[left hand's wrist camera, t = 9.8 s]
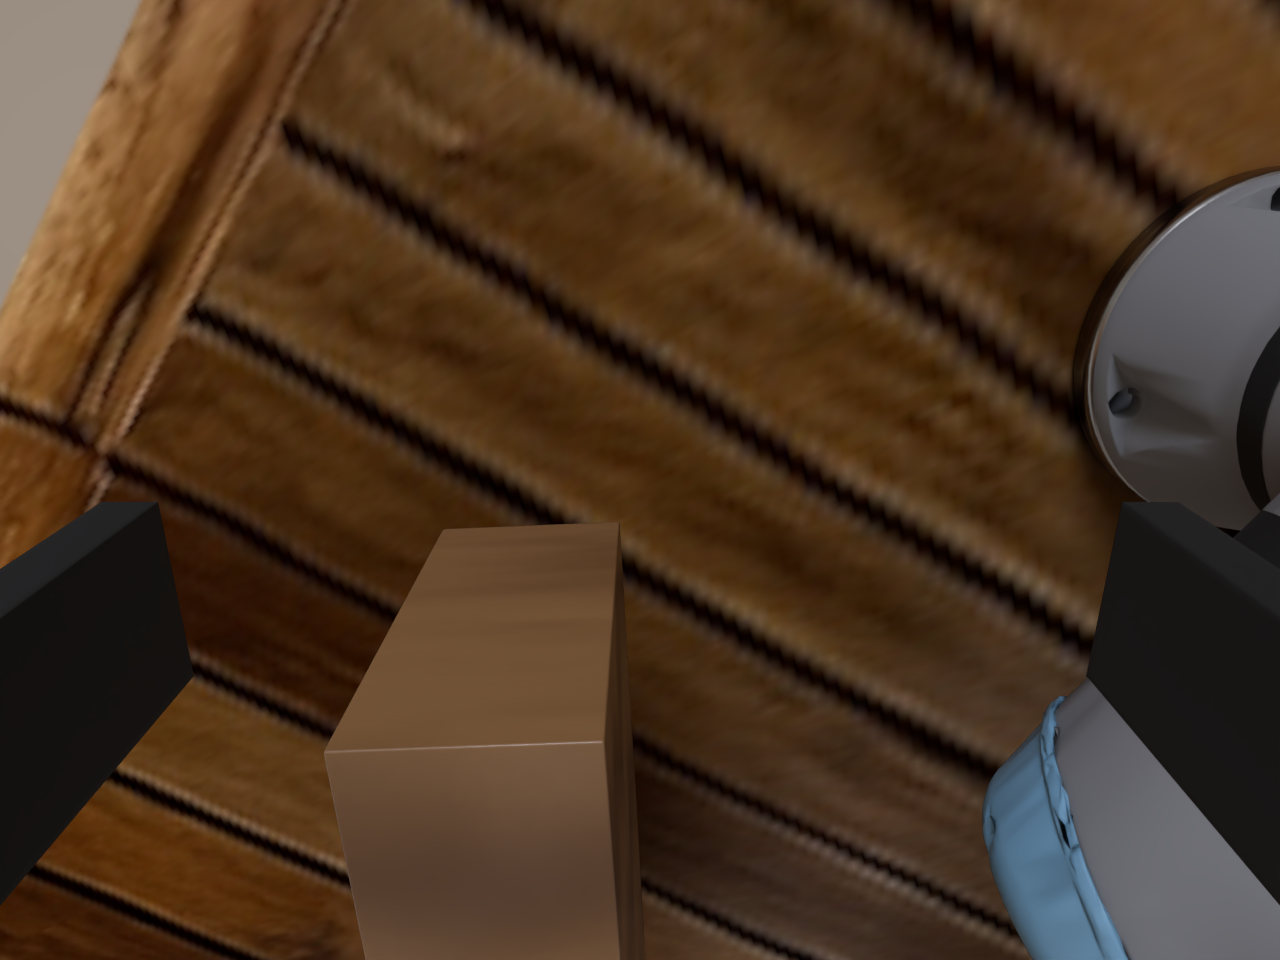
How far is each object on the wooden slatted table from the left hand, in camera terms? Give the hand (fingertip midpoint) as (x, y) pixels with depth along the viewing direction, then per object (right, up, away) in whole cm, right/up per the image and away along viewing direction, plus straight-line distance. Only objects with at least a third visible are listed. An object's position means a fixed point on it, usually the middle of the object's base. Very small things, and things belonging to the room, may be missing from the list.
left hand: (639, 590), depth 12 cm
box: (-3, -10, +22) cm, 25 cm away
